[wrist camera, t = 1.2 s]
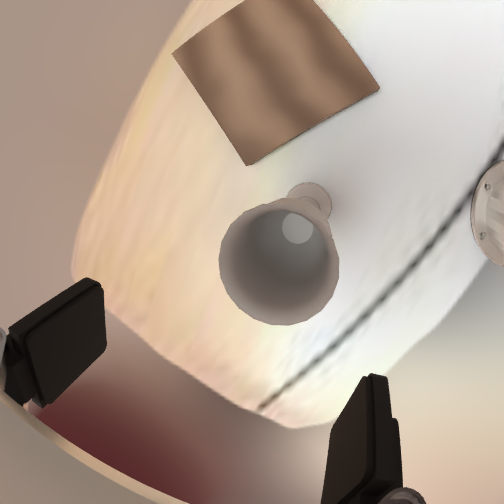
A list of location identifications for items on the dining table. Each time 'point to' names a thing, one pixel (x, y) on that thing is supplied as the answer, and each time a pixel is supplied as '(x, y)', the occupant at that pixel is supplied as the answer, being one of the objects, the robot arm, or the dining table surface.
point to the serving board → (273, 72)
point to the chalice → (282, 258)
